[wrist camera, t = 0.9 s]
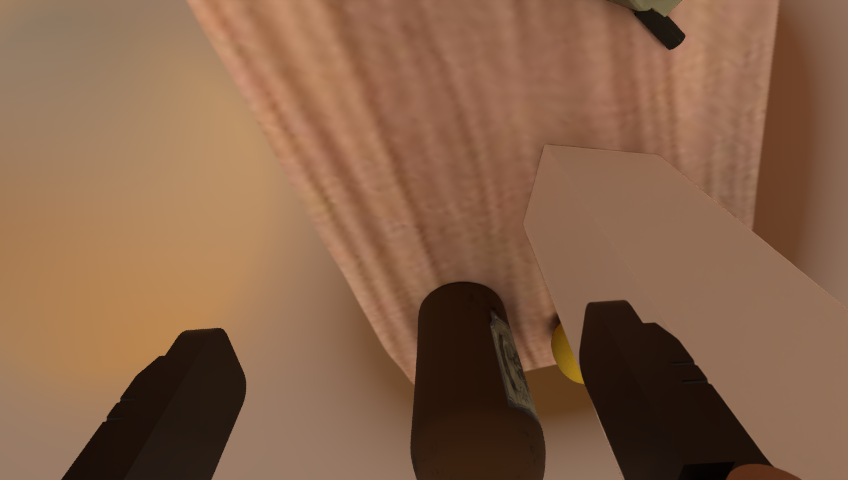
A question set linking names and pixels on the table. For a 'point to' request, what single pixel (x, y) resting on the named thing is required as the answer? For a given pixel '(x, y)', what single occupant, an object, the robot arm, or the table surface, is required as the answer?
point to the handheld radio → (657, 19)
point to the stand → (698, 295)
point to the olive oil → (471, 392)
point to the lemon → (565, 355)
